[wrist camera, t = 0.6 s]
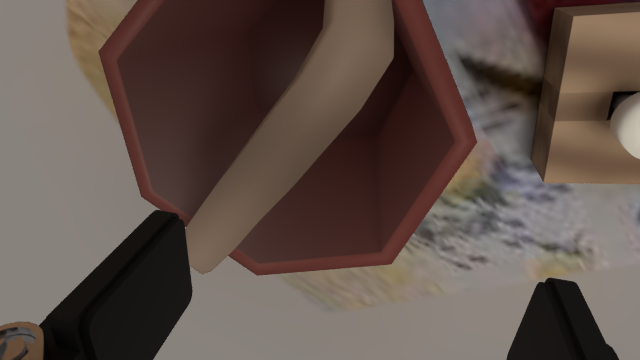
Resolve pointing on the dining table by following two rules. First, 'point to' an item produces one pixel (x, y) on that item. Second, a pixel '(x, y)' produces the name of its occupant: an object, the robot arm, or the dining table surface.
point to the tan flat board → (587, 95)
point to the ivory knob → (626, 121)
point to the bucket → (288, 126)
